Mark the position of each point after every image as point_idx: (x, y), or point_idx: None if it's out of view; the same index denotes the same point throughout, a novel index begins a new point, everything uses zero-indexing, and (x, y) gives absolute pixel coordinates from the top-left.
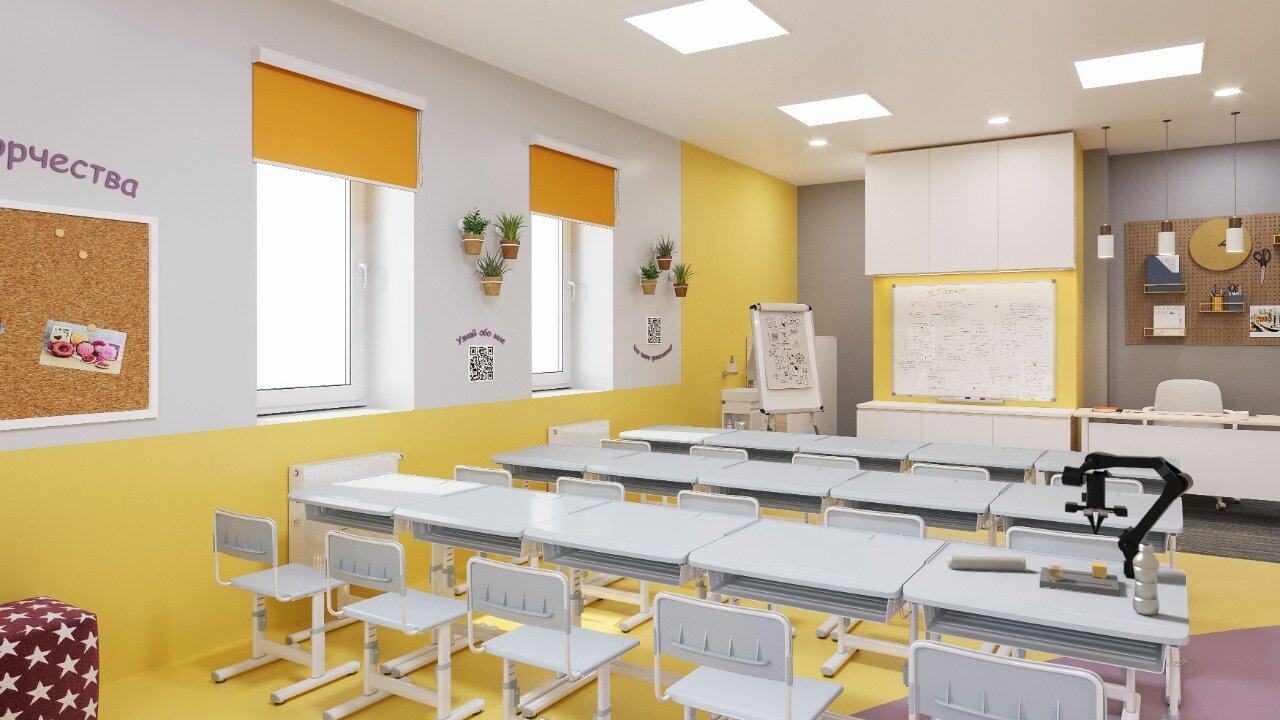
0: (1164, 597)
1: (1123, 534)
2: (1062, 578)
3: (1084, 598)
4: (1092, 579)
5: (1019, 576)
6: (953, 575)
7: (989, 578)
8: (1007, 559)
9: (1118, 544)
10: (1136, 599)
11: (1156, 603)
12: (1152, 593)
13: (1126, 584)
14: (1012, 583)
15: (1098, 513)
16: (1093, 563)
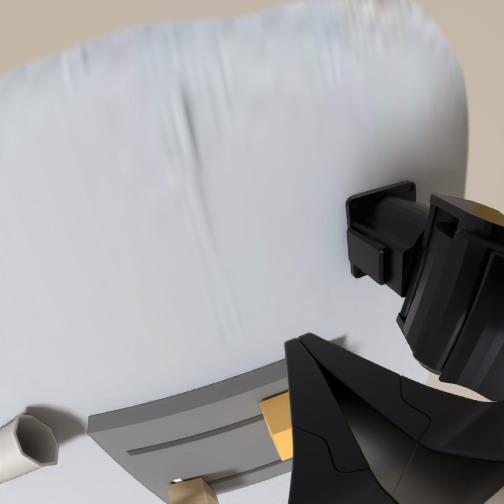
0: (415, 374)
1: (475, 388)
2: (216, 498)
3: (269, 484)
4: (272, 441)
5: (80, 465)
6: (15, 498)
7: (59, 494)
8: (21, 473)
9: (415, 356)
10: None
11: None
12: None
13: (350, 349)
14: (112, 498)
15: (493, 495)
16: (280, 443)
